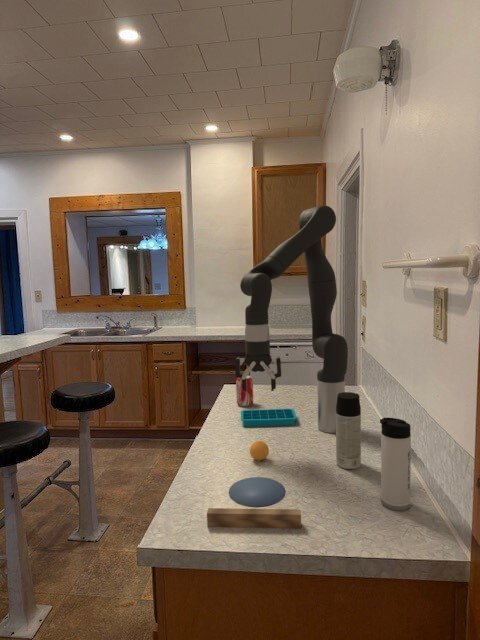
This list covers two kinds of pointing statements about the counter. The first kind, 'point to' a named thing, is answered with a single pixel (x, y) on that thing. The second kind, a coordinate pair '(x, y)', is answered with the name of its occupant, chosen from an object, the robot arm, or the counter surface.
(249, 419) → the ice cube tray
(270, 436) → the counter surface
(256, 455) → the ball
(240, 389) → the soda can
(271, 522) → the wall
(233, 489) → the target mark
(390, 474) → the travel mug
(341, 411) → the spray can
